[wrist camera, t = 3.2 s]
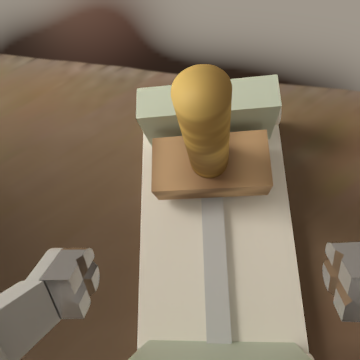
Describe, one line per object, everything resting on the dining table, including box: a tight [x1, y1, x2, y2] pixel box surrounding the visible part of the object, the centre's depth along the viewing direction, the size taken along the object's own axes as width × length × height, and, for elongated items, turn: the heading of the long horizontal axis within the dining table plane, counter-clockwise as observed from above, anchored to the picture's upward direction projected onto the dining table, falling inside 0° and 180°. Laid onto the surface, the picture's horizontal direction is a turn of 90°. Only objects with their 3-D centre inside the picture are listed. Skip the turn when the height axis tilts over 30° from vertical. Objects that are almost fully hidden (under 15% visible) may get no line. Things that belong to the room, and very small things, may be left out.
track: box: [128, 75, 314, 360], centre depth 25 cm, size 14×24×8 cm, turn 1°
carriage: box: [151, 64, 273, 200], centre depth 21 cm, size 10×5×13 cm, turn 91°
